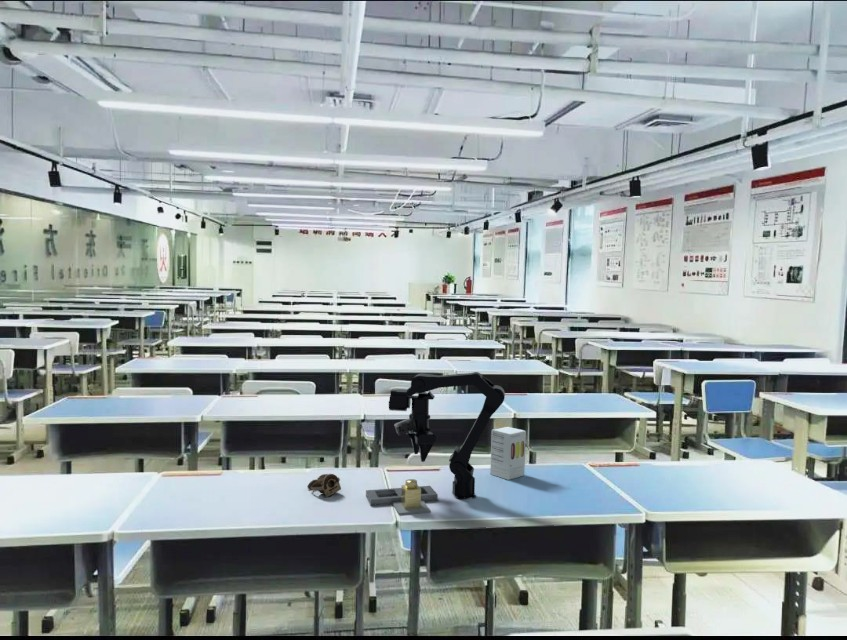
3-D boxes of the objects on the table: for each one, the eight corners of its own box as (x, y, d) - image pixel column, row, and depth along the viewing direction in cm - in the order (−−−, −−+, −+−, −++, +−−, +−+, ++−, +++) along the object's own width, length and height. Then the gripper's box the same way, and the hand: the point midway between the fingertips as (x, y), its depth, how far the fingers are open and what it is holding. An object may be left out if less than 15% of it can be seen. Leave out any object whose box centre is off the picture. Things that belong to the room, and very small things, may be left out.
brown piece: (311, 484, 202) (341, 474, 206) (302, 469, 214) (330, 460, 218) (316, 504, 204) (345, 494, 208) (306, 488, 216) (334, 479, 219)
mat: (422, 501, 203) (422, 499, 203) (430, 512, 194) (430, 510, 194) (392, 503, 201) (392, 501, 201) (398, 514, 191) (398, 513, 191)
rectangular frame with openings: (430, 491, 213) (430, 485, 213) (437, 500, 204) (437, 494, 204) (365, 496, 207) (365, 490, 207) (370, 505, 199) (370, 499, 198)
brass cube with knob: (416, 502, 200) (416, 477, 200) (420, 508, 196) (421, 482, 195) (401, 503, 199) (401, 479, 199) (405, 509, 194) (405, 484, 194)
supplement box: (508, 480, 226) (509, 434, 225) (489, 474, 233) (490, 429, 232) (525, 475, 232) (526, 430, 231) (506, 469, 239) (507, 425, 238)
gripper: (390, 407, 217) (390, 451, 218) (402, 418, 199) (402, 467, 200) (421, 405, 219) (421, 449, 220) (436, 417, 201) (435, 465, 202)
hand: (419, 457), depth 211 cm, fingers open, 9 cm apart
